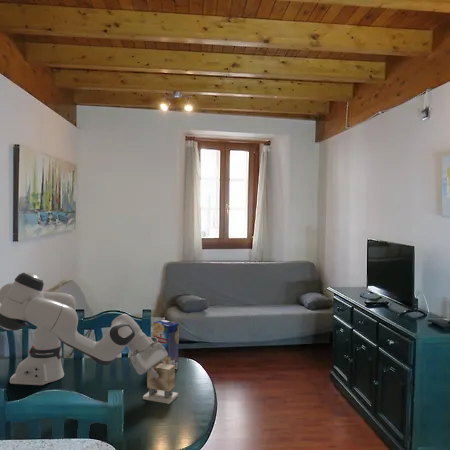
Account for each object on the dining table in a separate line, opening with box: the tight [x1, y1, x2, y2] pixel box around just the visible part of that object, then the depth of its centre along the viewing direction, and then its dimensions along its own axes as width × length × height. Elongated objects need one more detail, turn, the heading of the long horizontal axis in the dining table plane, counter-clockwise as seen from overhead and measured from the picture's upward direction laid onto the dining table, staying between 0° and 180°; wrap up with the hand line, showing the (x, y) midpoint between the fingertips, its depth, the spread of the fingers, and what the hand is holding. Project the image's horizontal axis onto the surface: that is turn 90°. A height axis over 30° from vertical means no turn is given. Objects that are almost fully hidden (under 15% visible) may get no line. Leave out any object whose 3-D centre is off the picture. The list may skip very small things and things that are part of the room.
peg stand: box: [142, 388, 179, 405], centre depth 176 cm, size 12×8×4 cm, turn 70°
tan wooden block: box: [146, 363, 176, 392], centre depth 176 cm, size 10×5×9 cm, turn 70°
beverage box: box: [152, 319, 180, 370], centre depth 209 cm, size 7×11×22 cm, turn 51°
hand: (162, 374), depth 176 cm, fingers open, 5 cm apart
